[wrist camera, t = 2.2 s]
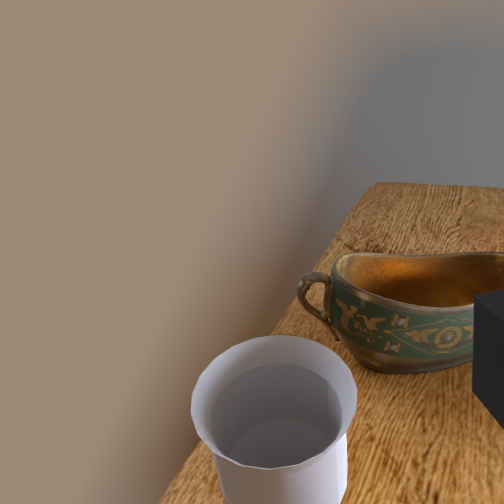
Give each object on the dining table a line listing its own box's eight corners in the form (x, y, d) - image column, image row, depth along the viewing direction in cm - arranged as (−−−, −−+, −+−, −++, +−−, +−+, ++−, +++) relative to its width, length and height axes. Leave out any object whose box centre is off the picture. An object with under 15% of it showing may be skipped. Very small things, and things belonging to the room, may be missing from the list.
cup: (332, 296, 56) (329, 220, 52) (522, 322, 48) (538, 234, 44) (298, 367, 46) (289, 280, 42) (530, 415, 38) (552, 314, 33)
